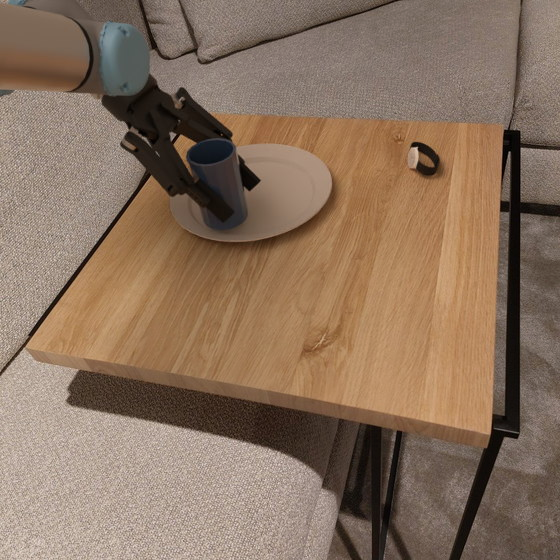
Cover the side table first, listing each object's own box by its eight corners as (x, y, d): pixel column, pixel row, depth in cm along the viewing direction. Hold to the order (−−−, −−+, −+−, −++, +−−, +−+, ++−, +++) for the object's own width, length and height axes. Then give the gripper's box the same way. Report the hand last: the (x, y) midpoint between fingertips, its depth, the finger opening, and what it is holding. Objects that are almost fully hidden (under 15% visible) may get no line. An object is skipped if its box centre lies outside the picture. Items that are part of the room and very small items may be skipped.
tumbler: (195, 226, 86) (177, 162, 78) (215, 199, 90) (200, 136, 83) (236, 233, 84) (222, 168, 76) (255, 205, 88) (243, 140, 80)
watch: (402, 155, 96) (402, 136, 94) (430, 150, 96) (431, 131, 94) (415, 181, 91) (416, 161, 88) (445, 176, 91) (447, 156, 88)
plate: (214, 146, 105) (212, 137, 104) (352, 161, 97) (352, 151, 95) (142, 236, 89) (139, 226, 88) (300, 264, 80) (299, 253, 79)
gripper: (77, 100, 69) (219, 233, 74) (170, 32, 81) (287, 151, 86) (60, 134, 75) (193, 255, 80) (150, 66, 87) (261, 175, 92)
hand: (242, 201), depth 83 cm, fingers open, 7 cm apart
